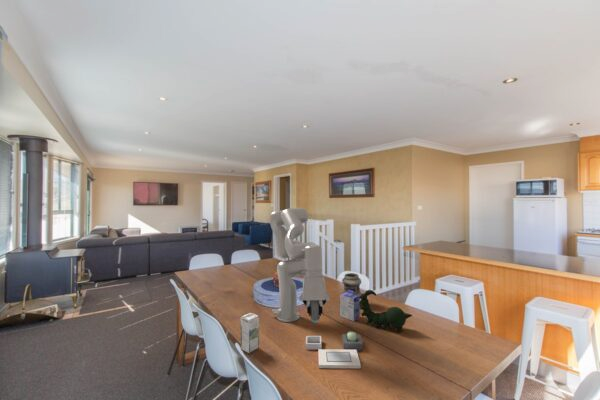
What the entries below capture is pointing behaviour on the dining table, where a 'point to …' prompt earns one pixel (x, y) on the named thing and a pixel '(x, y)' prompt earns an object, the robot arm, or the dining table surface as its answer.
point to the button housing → (352, 343)
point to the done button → (351, 336)
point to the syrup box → (249, 332)
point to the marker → (314, 311)
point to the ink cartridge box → (349, 306)
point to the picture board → (338, 358)
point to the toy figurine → (383, 314)
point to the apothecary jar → (352, 284)
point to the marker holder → (313, 345)
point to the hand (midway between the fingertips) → (315, 314)
